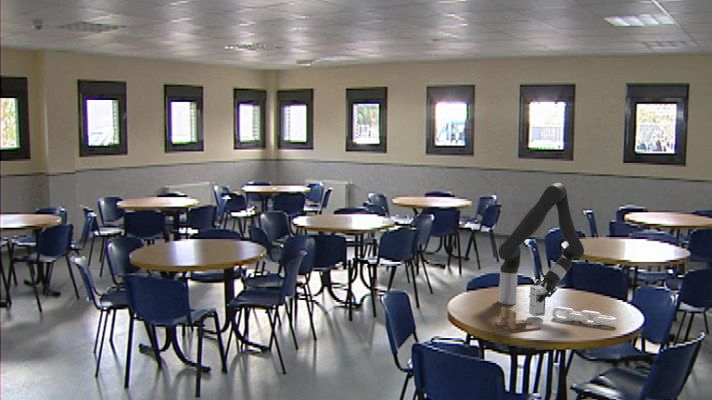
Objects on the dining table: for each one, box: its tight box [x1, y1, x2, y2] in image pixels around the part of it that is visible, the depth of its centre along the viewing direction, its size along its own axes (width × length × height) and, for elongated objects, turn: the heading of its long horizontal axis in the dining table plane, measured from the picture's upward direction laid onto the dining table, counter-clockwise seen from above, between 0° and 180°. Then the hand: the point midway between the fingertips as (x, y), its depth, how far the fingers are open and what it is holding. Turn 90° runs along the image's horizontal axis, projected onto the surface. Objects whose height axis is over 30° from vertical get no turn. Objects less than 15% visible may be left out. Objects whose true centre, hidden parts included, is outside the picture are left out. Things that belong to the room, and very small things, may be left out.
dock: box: [494, 306, 541, 334], centre depth 332 cm, size 14×16×9 cm
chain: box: [551, 306, 617, 326], centre depth 342 cm, size 30×6×6 cm, turn 62°
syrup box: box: [528, 285, 546, 317], centre depth 348 cm, size 6×6×14 cm
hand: (534, 299), depth 348 cm, fingers closed on syrup box, 6 cm apart
